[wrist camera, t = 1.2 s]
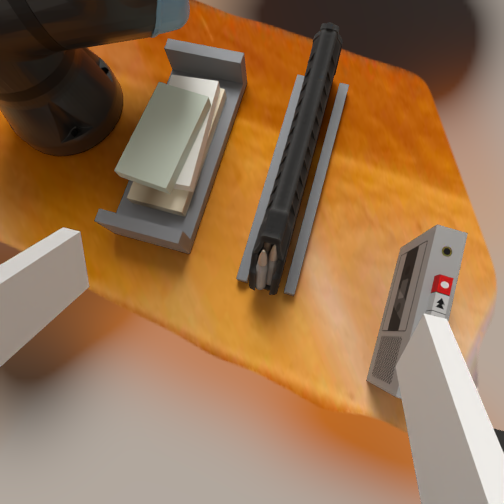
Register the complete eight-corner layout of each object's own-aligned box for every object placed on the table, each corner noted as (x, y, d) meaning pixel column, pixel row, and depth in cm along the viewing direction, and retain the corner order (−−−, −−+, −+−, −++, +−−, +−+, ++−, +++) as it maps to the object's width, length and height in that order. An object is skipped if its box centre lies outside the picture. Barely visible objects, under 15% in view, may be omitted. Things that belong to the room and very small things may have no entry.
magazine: (324, -4, 37) (248, 200, 23) (353, 1, 36) (295, 211, 22) (301, 123, 52) (247, 295, 37) (321, 127, 51) (275, 302, 37)
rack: (110, 244, 41) (89, 233, 36) (182, 60, 47) (172, 29, 42) (293, 295, 38) (296, 291, 33) (346, 92, 44) (355, 63, 39)
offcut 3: (132, 203, 41) (126, 198, 39) (176, 87, 44) (173, 78, 43) (185, 216, 40) (181, 212, 38) (226, 97, 43) (224, 89, 42)
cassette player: (400, 248, 39) (442, 220, 29) (423, 255, 39) (474, 230, 29) (366, 380, 36) (400, 399, 26) (390, 389, 36) (435, 412, 26)
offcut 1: (120, 176, 38) (114, 170, 36) (163, 91, 40) (158, 81, 39) (170, 194, 37) (165, 188, 36) (211, 105, 39) (208, 96, 38)
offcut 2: (145, 183, 39) (139, 177, 38) (175, 83, 42) (171, 74, 41) (193, 192, 39) (189, 186, 37) (220, 90, 42) (218, 81, 40)
